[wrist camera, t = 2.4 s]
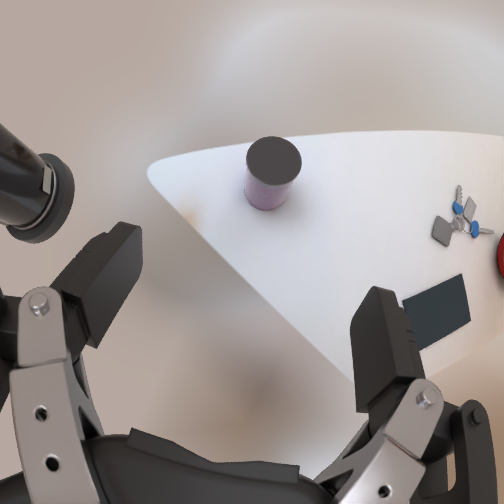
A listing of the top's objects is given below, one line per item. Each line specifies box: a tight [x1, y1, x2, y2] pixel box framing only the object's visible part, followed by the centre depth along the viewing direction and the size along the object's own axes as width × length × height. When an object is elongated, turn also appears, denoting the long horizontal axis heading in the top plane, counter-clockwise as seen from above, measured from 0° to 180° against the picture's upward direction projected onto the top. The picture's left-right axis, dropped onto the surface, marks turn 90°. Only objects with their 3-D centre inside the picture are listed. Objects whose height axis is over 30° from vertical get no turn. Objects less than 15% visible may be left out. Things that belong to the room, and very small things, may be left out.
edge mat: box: [402, 274, 471, 351], centre depth 32 cm, size 11×7×1 cm, turn 106°
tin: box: [245, 136, 302, 210], centre depth 30 cm, size 5×5×8 cm
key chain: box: [432, 185, 494, 246], centre depth 34 cm, size 14×8×1 cm, turn 101°
